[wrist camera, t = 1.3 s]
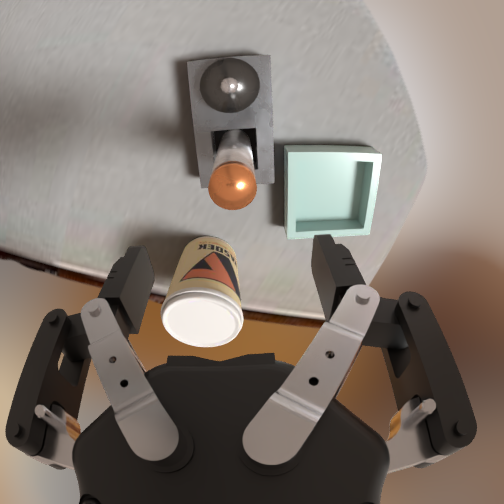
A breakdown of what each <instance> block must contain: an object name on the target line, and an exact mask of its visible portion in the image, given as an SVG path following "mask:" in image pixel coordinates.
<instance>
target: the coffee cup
mask: <svg viewBox="0 0 504 504" xmlns="http://www.w3.org/2000/svg"><path fill="white" fill-rule="evenodd" d="M161 319H162V321H163V325H164V327H165V329H166V330H167V331H168V332H169V333H170V334H171V335H172V336H173V337H174V338H176V339H177V340H179V341H181V342H183V343H186V344H189V345H193V346H198V347H214V346H220V345H223V344H226V343H228V342H229V341H231V340H232V339H234V338H235V337H236V336H237V334H238V333H239V331H240V330H241V328H242V325H243V313H242V310H241V299H240V289H239V279H238V269H237V261H236V255H235V252H234V250H233V249H232V247H231V246H230V245H229V244H228V243H227V242H225V241H223V240H221V239H219V238H216V237H210V236H204V237H199V238H196V239H194V240H192V241H191V242H190V243H188V244H187V246H186V247H185V249H184V250H183V253H182V255H181V257H180V260H179V263H178V265H177V268H176V271H175V273H174V276H173V279H172V282H171V284H170V287H169V290H168V293H167V296H166V299H165V301H164V303H163V305H162V308H161Z"/></svg>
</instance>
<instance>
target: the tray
mask: <svg viewBox="0 0 504 504" xmlns="http://www.w3.org/2000/svg"><path fill="white" fill-rule="evenodd" d="M381 159H382V154H381V153H380V152H378V151H377V150H375V149H374V148H373V147H365V146H343V145H284V229H285V233H286V237H287V239H303V238H314V235H320V234H331V236H332V237H338V236H357V235H369V234H370V229H371V223H372V218H373V213H374V207H375V201H376V195H377V188H378V182H379V175H380V167H381Z"/></svg>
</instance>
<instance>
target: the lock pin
mask: <svg viewBox="0 0 504 504" xmlns="http://www.w3.org/2000/svg"><path fill="white" fill-rule="evenodd" d="M208 190H209V194H210V197H211V199H212V200H213V201H214V203H215V204H217V205H218V206H220V207H222V208H224V209H228V210H237V209H241V208H244V207H246V206H247V205H248V204H250V203H251V202H252V200H253V199H254V197H255V195H256V191H257V186H256V178H255V171H254V164H253V157H252V149H251V142H250V138H249V136H248V135H247V134H246V133H245V132H244V131H242V130H238V129H233V130H229V131H227V132H226V133H225V134H224V135H223V136H222V138H221V141H220V145H219V148H218V152H217V155H216V159H215V163H214V166H213V170H212V174H211V177H210V181H209V186H208Z"/></svg>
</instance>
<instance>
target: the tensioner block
mask: <svg viewBox="0 0 504 504" xmlns="http://www.w3.org/2000/svg"><path fill="white" fill-rule="evenodd" d="M187 69H188V80H189V90H190V100H191V110H192V119H193V128H194V136H195V144H196V152H197V160H198V168H199V175H200V182H201V188H208V186H209V181H210V177H211V174H212V170H213V166H214V163H215V159H216V148H215V138H214V131H219V130H230V129H244V128H255V136H256V157H257V161H253V164H254V171H255V178H256V184H267V183H274V141H273V109H272V83H271V61H270V55H252V56H234V57H222V58H212V59H204V60H196V61H189V62H187Z"/></svg>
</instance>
